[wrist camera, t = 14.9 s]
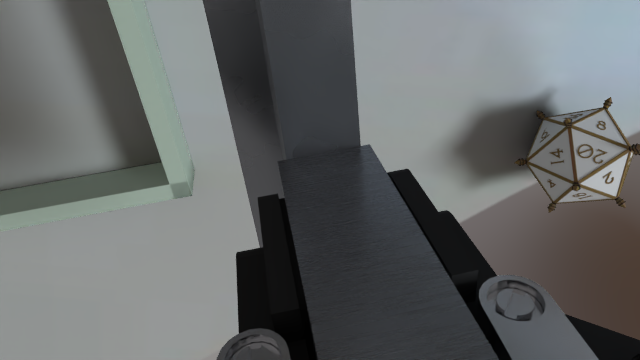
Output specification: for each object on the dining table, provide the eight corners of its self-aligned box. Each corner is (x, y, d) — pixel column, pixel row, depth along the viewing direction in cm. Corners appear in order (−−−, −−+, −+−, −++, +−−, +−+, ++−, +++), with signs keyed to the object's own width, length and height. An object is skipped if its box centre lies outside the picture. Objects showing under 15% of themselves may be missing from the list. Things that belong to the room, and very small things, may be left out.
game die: (505, 129, 42) (485, 186, 35) (579, 60, 37) (573, 110, 29) (582, 189, 42) (577, 258, 35) (670, 128, 36) (685, 196, 29)
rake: (268, 269, 22) (314, 642, 11) (193, -62, 14) (94, 58, 3) (345, 253, 22) (465, 599, 11) (311, -78, 15) (569, -16, 4)
